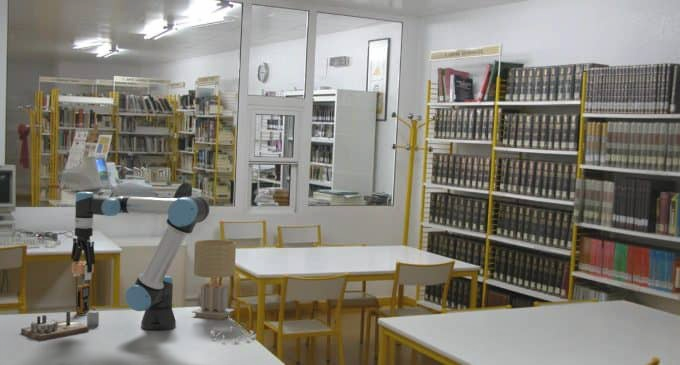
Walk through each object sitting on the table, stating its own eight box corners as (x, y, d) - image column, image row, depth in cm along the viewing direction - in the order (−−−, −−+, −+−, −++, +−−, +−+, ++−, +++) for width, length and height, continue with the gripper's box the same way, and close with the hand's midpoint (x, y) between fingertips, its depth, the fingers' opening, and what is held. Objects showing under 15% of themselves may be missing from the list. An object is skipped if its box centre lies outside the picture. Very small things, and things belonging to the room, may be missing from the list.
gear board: (88, 331, 325) (88, 313, 325) (40, 340, 308) (40, 321, 308) (68, 324, 336) (69, 306, 335) (21, 333, 319) (21, 314, 318)
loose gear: (97, 272, 331) (97, 263, 331) (78, 274, 324) (78, 265, 324) (86, 269, 337) (87, 260, 337) (67, 271, 330) (68, 262, 330)
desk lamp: (241, 313, 368) (242, 241, 366) (222, 321, 350) (223, 246, 348) (205, 309, 374) (207, 238, 372) (185, 317, 356) (186, 243, 354)
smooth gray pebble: (100, 325, 336) (101, 312, 336) (90, 327, 332) (91, 313, 332) (94, 323, 339) (94, 310, 339) (84, 325, 335) (84, 311, 335)
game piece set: (201, 341, 316) (201, 332, 316) (224, 330, 335) (225, 322, 335) (242, 347, 310) (243, 338, 310) (264, 336, 328) (264, 327, 328)
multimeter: (91, 317, 351) (92, 274, 350) (72, 315, 353) (72, 273, 352) (107, 310, 365) (107, 269, 364) (88, 308, 367) (89, 268, 366)
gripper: (63, 224, 334) (62, 274, 335) (88, 230, 320) (87, 282, 321) (79, 223, 340) (77, 273, 341) (104, 229, 325) (103, 280, 326)
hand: (82, 277), depth 331 cm, fingers closed on loose gear, 9 cm apart
